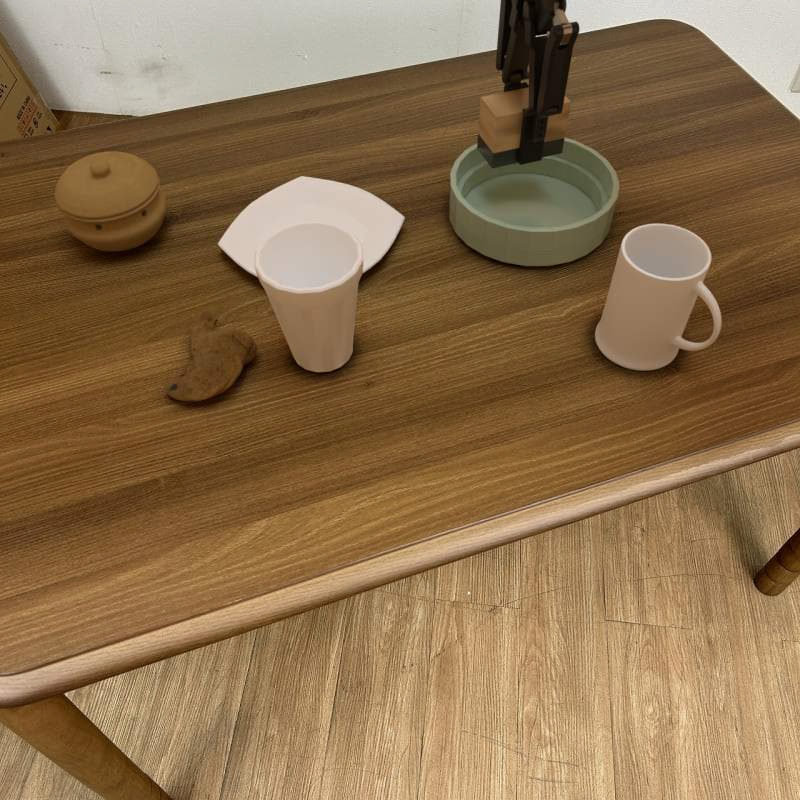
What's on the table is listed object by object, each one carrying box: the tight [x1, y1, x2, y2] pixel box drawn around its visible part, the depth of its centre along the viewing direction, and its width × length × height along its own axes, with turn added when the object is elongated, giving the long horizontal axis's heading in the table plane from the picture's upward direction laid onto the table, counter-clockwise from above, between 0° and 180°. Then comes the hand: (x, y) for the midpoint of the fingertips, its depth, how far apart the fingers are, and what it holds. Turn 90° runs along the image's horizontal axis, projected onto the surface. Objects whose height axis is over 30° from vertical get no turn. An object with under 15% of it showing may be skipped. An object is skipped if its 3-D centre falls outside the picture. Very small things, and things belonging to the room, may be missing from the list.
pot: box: [54, 150, 167, 253], centre depth 86 cm, size 12×12×10 cm
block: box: [476, 87, 572, 169], centre depth 85 cm, size 9×4×6 cm, turn 109°
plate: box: [217, 175, 406, 278], centre depth 88 cm, size 19×19×2 cm
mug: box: [594, 223, 723, 372], centre depth 72 cm, size 12×8×12 cm
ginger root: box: [165, 310, 258, 402], centre depth 75 cm, size 10×10×4 cm
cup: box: [254, 221, 364, 373], centre depth 72 cm, size 10×10×13 cm
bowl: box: [448, 137, 620, 267], centre depth 89 cm, size 19×19×6 cm
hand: (520, 148), depth 88 cm, fingers closed on block, 4 cm apart
